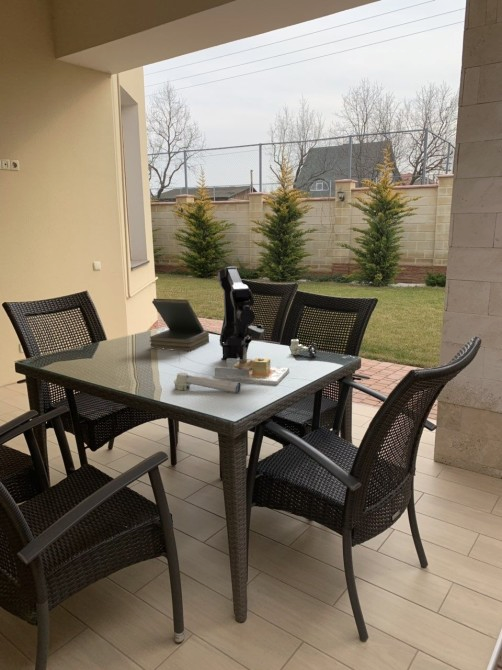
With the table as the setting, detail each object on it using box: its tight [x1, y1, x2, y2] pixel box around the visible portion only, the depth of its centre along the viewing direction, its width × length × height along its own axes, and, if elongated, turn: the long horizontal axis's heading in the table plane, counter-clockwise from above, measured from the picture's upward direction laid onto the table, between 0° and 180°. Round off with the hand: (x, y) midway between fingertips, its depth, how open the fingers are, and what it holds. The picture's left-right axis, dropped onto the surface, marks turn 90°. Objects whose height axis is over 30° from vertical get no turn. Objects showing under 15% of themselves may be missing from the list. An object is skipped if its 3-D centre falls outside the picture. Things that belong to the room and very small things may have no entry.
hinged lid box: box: [149, 298, 210, 352], centre depth 246 cm, size 23×20×25 cm
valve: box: [289, 338, 318, 357], centre depth 222 cm, size 7×7×12 cm
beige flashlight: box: [173, 371, 241, 394], centre depth 178 cm, size 5×7×25 cm
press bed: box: [212, 358, 290, 386], centre depth 194 cm, size 26×18×4 cm
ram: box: [234, 347, 253, 370], centre depth 194 cm, size 4×10×10 cm, turn 160°
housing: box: [252, 357, 271, 375], centre depth 192 cm, size 6×5×5 cm
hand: (242, 358), depth 194 cm, fingers closed on ram, 3 cm apart
